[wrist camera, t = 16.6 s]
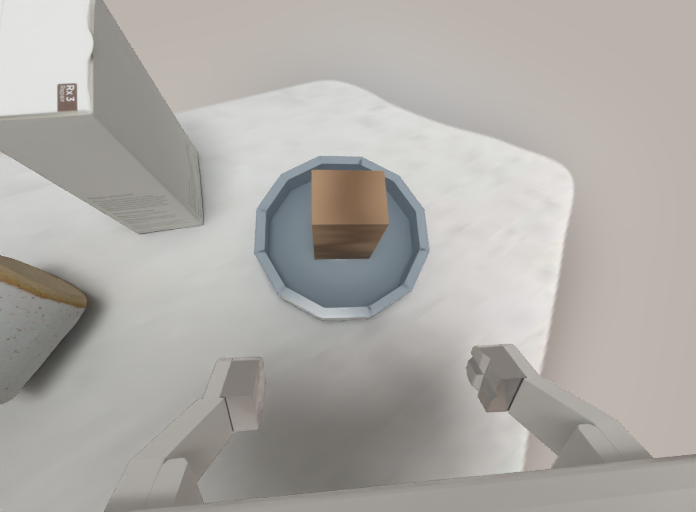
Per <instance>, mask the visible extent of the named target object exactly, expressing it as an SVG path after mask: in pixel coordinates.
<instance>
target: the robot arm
mask: <svg viewBox="0 0 696 512" xmlns="http://www.w3.org/2000/svg"><path fill="white" fill-rule="evenodd" d="M471 354H472V356H473V357H472V358H471V359H470V360H469V361H468V363H467V367H466V369H467V376H468V379H469V381H470V383H471V385H472V386H473V387H474V388H475V389H477V390H478V398H479V400H480V402H481V403H482V405H483V407H484V409H485V410H486V412H503V411H508V413H509V414H510V415H511V416H513V417H514V418H515V419H516V420H517V421H518V422H520V423H521V424H522V425H523V426H524V427H525V428H526V429H528V430H529V431H530V432H531V433H532V434H534V435H535V436H536V437H537V438H538V439H539V440H540V441H541V442H543V443H544V444H545V445H546V446H547V447H548V448H550V449H551V450H552V451H553V452H554V453H555V454H556V455H558V456H557V458H556V459H555V461H554V462H553V464H552V466H551V469H545V470H535V471H524V472H514V473H504V474H494V475H484V476H474V477H464V478H454V479H444V480H434V481H424V482H414V483H404V484H394V485H384V486H374V487H365V488H355V489H345V490H335V491H325V492H315V493H305V494H295V495H285V496H275V497H265V498H256V499H246V500H236V501H226V502H216V503H206V504H204V502H203V499H202V497H201V494H200V492H199V489H198V487H197V484H196V483H197V481H198V480H199V479H200V477H201V476H202V475H203V473H204V472H205V471H206V469H207V468H208V467H209V465H210V464H211V463H212V461H213V460H214V459H215V458H216V456H217V455H218V454H219V452H220V451H221V450H222V448H223V447H224V446H225V444H226V443H227V442H228V440H229V439H230V438H231V436H232V435H233V432H241V431H250V430H259V425H260V419H261V414H262V408H261V402H262V401H263V400H264V396H265V386H266V378H265V372H264V371H262V370H263V365H264V363H263V358H262V357H243V358H219V359H218V361H217V362H216V364H215V367H214V370H213V372H212V375H211V378H210V380H209V383H208V386H207V388H206V391H205V393H204V396H203V399H198V400H197V401H195V402H194V403H193V404H192V405H191V406H190V407H189V408H188V409H187V410H186V411H184V412H183V413H182V414H181V415H180V416H179V417H178V418H177V419H176V420H175V421H173V422H172V423H171V424H170V425H169V426H168V427H167V428H166V429H165V430H163V431H162V432H161V433H160V434H159V435H158V436H157V437H156V438H155V439H154V440H152V441H151V442H150V443H149V444H148V445H147V446H146V447H145V448H144V449H142V450H141V451H140V452H139V453H138V454H137V455H136V456H135V457H134V458H133V459H131V460H130V462H129V464H128V466H127V468H126V470H125V472H124V473H123V475H122V477H121V479H120V481H119V483H118V485H117V487H116V489H115V491H114V493H113V495H112V497H111V499H110V501H109V502H108V504H107V506H106V508H105V510H104V512H696V454H693V455H682V456H673V457H663V458H653V457H652V456H651V455H650V454H649V453H648V452H647V451H646V450H645V449H644V448H643V446H642V445H641V444H640V443H639V442H638V441H637V440H636V439H635V438H634V437H633V436H632V435H631V434H630V433H629V432H628V431H627V430H626V429H625V427H624V426H623V425H622V424H621V423H620V422H619V421H618V420H616V419H615V418H613V417H611V416H609V415H608V414H606V413H604V412H603V411H601V410H599V409H598V408H596V407H594V406H592V405H591V404H589V403H587V402H586V401H584V400H582V399H581V398H579V397H577V396H576V395H574V394H572V393H571V392H569V391H567V390H565V389H564V388H562V387H560V386H559V385H557V384H555V383H554V382H552V381H550V380H549V379H547V378H545V377H540V376H539V374H538V373H537V372H536V371H535V370H534V368H533V367H532V366H531V365H530V364H529V362H528V361H527V360H526V359H525V357H524V356H523V355H522V354H521V353H520V351H519V350H518V349H517V348H516V347H515V346H514V345H513V344H500V345H482V346H474V347H473V348H472V351H471Z"/></svg>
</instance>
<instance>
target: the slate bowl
mask: <svg viewBox="0 0 696 512" xmlns="http://www.w3.org/2000/svg"><path fill="white" fill-rule="evenodd" d="M312 170H363V171H384V174H385V185H386V196H387V207H388V219H389V225H388V227H387V229H386V230H385V232H384V234H383V236H382V237H381V239H380V241H379V243H378V245H377V246H376V248H375V250H374V252H373V253H372V255H371V257H370V259H319V260H314V247H313V233H312ZM428 253H429V243H428V235H427V227H426V219H425V212H424V208H423V207H422V206H421V204H420V203H419V202H418V200H417V199H416V198H415V196H414V195H413V194H412V192H411V191H410V190H409V188H408V187H407V186H406V184H405V183H404V181H403V180H402V179H401V177H400V176H399V175H397V174H395V173H393V172H391V171H389V170H387V169H385V168H383V167H381V166H379V165H377V164H375V163H373V162H371V161H369V160H367V159H365V158H363V157H362V158H361V157H344V156H320V157H319V156H318V157H316V158H314V159H312V160H310V161H308V162H306V163H304V164H302V165H299V166H297V167H295V168H293V169H291V170H289V171H287V172H285V173H283V174H282V175H280V177H279V178H278V179H277V181H276V182H275V184H274V185H273V187H272V188H271V189H270V191H269V192H268V194H267V195H266V196H265V198H264V199H263V201H262V202H261V203H260V205H259V206H258V208H257V211H256V230H255V248H254V254H255V255H256V257H257V259H258V261H259V262H260V264H261V266H262V268H263V269H264V271H265V273H266V275H267V276H268V278H269V280H270V282H271V283H272V285H273V287H274V289H275V290H276V292H277V294H278V295H279V296H280V297H281V298H282V299H283V300H285V301H287V302H289V303H291V304H293V305H294V306H296V307H297V308H299V309H300V310H302V311H304V312H306V313H308V314H310V315H313V316H315V317H316V318H318V319H320V320H342V321H345V320H354V319H369V318H370V317H372V316H374V315H375V314H377V313H378V312H380V311H381V310H383V309H384V308H386V307H387V306H389V305H391V304H392V303H394V302H395V301H397V300H398V299H400V298H401V297H403V296H404V295H406V294H407V293H409V292H410V291H412V288H413V286H414V284H415V282H416V280H417V277H418V275H419V273H420V271H421V269H422V266H423V264H424V262H425V260H426V258H427V256H428Z"/></svg>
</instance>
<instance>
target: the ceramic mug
mask: <svg viewBox="0 0 696 512" xmlns="http://www.w3.org/2000/svg"><path fill="white" fill-rule="evenodd" d="M86 305H87V298H86V296H85V295H84V293H83V292H81V291H80V290H78V289H77V288H75V287H74V286H72V285H70V284H69V283H67V282H65V281H63V280H61V279H59V278H57V277H55V276H53V275H51V274H49V273H47V272H44V271H42V270H40V269H38V268H35V267H33V266H30V265H28V264H25V263H23V262H20V261H17V260H15V259H12V258H8V257H4V256H1V255H0V404H3V403H6V402H7V401H9V400H11V399H13V398H14V397H15V396H16V395H17V394H18V393H19V392H20V390H21V389H22V388H23V386H24V385H25V384H26V383H27V381H28V380H29V379H30V378H31V377H32V375H33V374H34V373H35V372H36V371H37V370H38V368H39V367H40V366H41V365H42V364H43V362H44V361H45V360H46V359H47V357H48V356H49V355H50V354H51V353H52V351H53V350H54V349H55V348H56V346H57V345H58V344H59V343H60V341H61V340H62V339H63V338H64V337H65V336H66V334H67V333H68V332H69V331H70V330H71V329H72V328H73V326H74V325H75V324H76V323H77V321H78V320H79V318H80V317H81V315H82V313H83V312H84V310H85V308H86Z"/></svg>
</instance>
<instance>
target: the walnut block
mask: <svg viewBox="0 0 696 512" xmlns="http://www.w3.org/2000/svg"><path fill="white" fill-rule="evenodd" d="M388 225H389V219H388V207H387V196H386V185H385V174H384V171H363V170H312V233H313V247H314V260H319V259H370V257H371V255H372V253H373V252H374V250H375V248H376V246H377V245H378V243H379V241H380V239H381V237H382V236H383V234H384V232H385V230H386V229H387V227H388Z"/></svg>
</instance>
